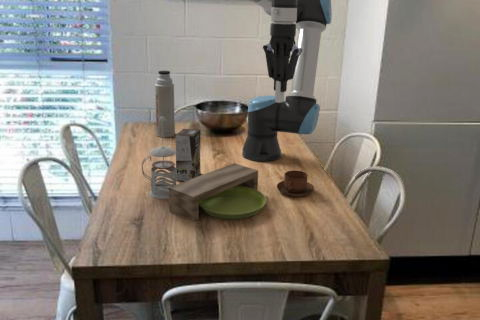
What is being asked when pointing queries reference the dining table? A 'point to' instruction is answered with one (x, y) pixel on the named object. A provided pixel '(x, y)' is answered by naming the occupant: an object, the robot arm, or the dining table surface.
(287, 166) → the dining table surface
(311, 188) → the cup and saucer
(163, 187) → the french press
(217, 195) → the green plate
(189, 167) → the coffee box
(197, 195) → the stand
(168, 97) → the thermos bottle
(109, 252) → the dining table surface
